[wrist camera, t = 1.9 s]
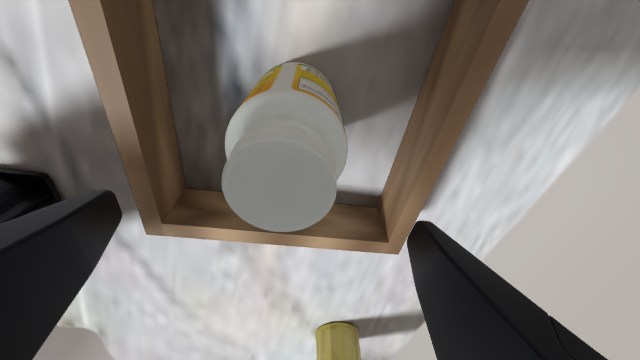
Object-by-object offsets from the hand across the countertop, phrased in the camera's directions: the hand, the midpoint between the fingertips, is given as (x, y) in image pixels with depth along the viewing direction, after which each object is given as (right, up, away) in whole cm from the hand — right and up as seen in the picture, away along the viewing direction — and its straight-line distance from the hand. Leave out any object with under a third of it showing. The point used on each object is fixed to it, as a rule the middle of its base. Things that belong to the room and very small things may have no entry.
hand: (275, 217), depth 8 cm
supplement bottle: (0, +6, +9) cm, 11 cm away
